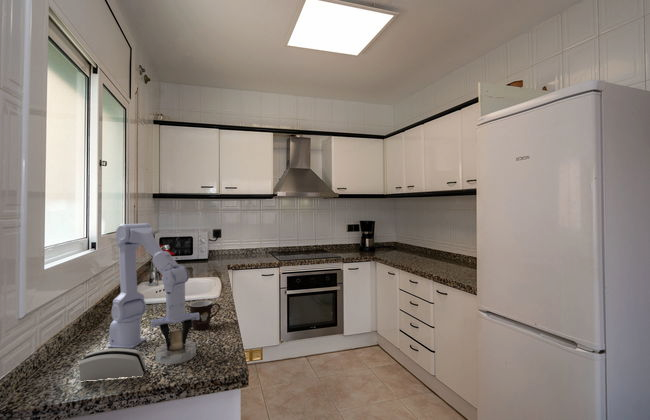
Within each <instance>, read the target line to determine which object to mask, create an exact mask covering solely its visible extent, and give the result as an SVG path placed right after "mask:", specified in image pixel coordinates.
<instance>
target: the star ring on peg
mask: <svg viewBox="0 0 650 420" xmlns="http://www.w3.org/2000/svg"><path fill="white" fill-rule="evenodd" d="M196 356H197V344H196V341H192V340H190V339H189V340H187V339H186V344H183V349H181V350H179V351H169V347H168V348H167V346H166V343H163V344H161V345H160V346H158V347H157V348H156V349H155V363H156V362H158V363H160V364H175V365H178V364H177V363H181V364H183V363H182V362H184V363H186V362H188V360H189V361H191V360H192V359H193V358H194V357H196ZM190 359H191V360H190ZM185 361H186V362H185ZM158 363H157V364H158ZM160 364H159V365H160Z"/></svg>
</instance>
